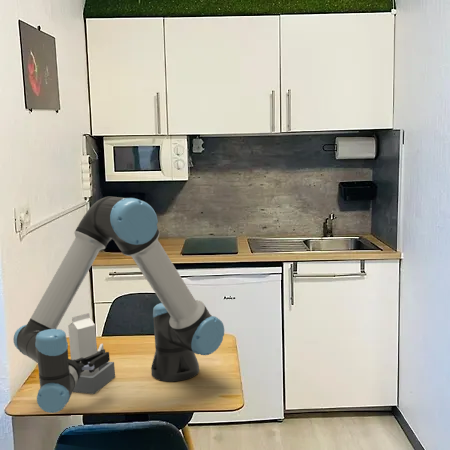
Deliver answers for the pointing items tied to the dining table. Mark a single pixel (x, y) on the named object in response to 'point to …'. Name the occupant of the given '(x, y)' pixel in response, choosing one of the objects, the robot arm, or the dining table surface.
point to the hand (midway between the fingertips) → (79, 349)
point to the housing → (96, 379)
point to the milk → (82, 339)
